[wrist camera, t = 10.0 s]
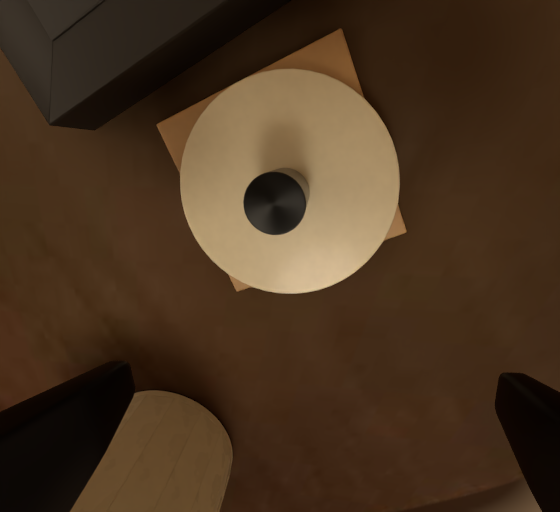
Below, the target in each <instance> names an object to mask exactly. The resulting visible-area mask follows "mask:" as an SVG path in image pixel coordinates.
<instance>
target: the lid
mask: <svg viewBox="0 0 560 512" xmlns="http://www.w3.org/2000/svg"><path fill="white" fill-rule="evenodd" d="M399 189H400V175H399V165H398V159H397V154H396V151H395V148H394V144H393V141H392V139H391V137H390V134H389V132H388V130H387V128H386V126H385V124H384V123H383V121H382V120H381V118H380V117H379V115H378V114H377V112H376V111H375V110H374V109H373V107H372V106H371V105H370V104H369V103H368V102H367V101H366V100H365V99H364V98H363V97H362V96H361V95H359V94H358V93H357V92H356V91H355V90H354V89H352V88H350V87H349V86H347V85H346V84H344V83H342V82H341V81H339V80H337V79H334V78H332V77H330V76H327V75H325V74H321V73H318V72H314V71H310V70H302V69H275V70H270V71H265V72H261V73H258V74H255V75H252V76H249V77H246V78H244V79H243V80H241V81H239V82H237V83H235V84H233V85H232V86H230V87H229V88H227V89H226V90H225V91H223V92H222V93H220V94H219V95H218V96H217V97H216V98H215V99H214V100H213V101H212V102H211V103H210V104H209V105H208V106H207V108H206V109H205V110H204V111H203V113H202V114H201V115H200V117H199V118H198V120H197V122H196V123H195V125H194V127H193V128H192V131H191V133H190V135H189V138H188V140H187V142H186V146H185V149H184V153H183V157H182V163H181V170H180V190H181V199H182V204H183V208H184V213H185V216H186V218H187V221H188V224H189V226H190V228H191V231H192V233H193V235H194V237H195V238H196V240H197V241H198V243H199V245H200V246H201V248H202V249H203V250H204V251H205V253H206V254H207V255H208V256H209V257H210V259H211V260H212V261H213V262H214V263H216V264H217V265H218V266H219V267H220V268H221V269H222V270H224V271H225V272H226V273H228V274H229V275H230V276H232V277H234V278H235V279H237V280H239V281H241V282H243V283H245V284H247V285H249V286H252V287H254V288H258V289H261V290H264V291H269V292H275V293H287V294H295V293H306V292H311V291H316V290H320V289H323V288H326V287H329V286H331V285H334V284H336V283H338V282H340V281H342V280H344V279H345V278H347V277H348V276H350V275H352V274H353V273H354V272H356V271H357V270H358V269H359V268H361V267H362V266H363V265H364V264H365V263H366V262H367V261H368V260H369V259H370V258H371V257H372V256H373V255H374V253H375V252H376V251H377V249H378V248H379V246H380V245H381V244H382V242H383V240H384V239H385V237H386V235H387V233H388V231H389V229H390V227H391V224H392V221H393V219H394V216H395V212H396V208H397V204H398V198H399Z"/></svg>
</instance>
